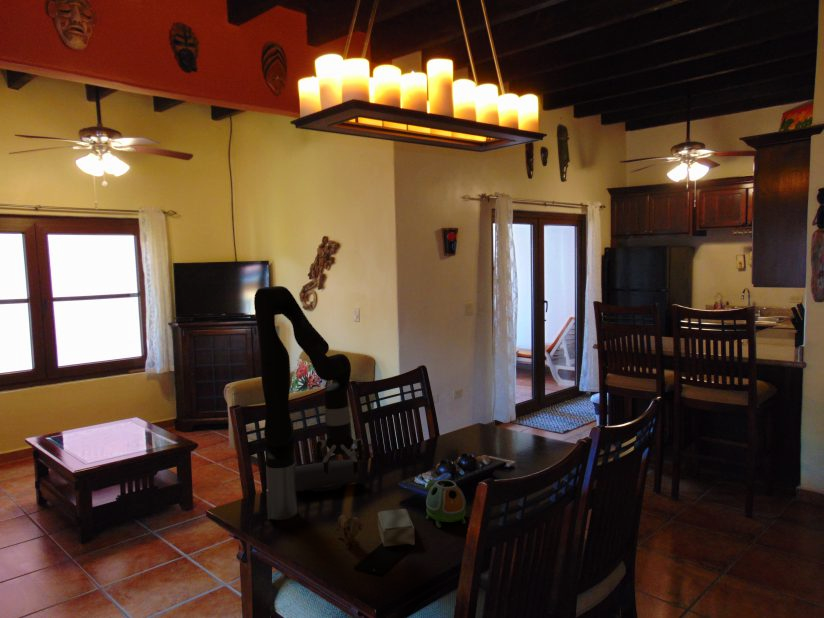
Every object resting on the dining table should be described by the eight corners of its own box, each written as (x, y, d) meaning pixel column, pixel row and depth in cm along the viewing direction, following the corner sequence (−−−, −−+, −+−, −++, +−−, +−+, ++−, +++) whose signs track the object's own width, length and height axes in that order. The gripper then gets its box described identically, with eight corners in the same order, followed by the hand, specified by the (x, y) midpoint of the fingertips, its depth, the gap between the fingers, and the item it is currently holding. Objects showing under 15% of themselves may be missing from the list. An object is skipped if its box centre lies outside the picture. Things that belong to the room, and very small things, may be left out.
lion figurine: (367, 548, 168) (366, 517, 168) (350, 553, 165) (349, 522, 165) (343, 529, 180) (342, 501, 180) (328, 534, 177) (326, 505, 177)
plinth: (383, 548, 168) (383, 529, 167) (378, 528, 180) (377, 510, 180) (414, 544, 169) (414, 526, 169) (406, 525, 182) (406, 507, 182)
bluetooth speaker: (353, 480, 221) (353, 454, 221) (359, 489, 213) (358, 462, 212) (293, 488, 215) (292, 462, 214) (296, 498, 206) (295, 470, 205)
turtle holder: (446, 503, 198) (445, 468, 197) (473, 524, 182) (473, 486, 181) (413, 510, 193) (412, 475, 192) (438, 532, 177) (437, 494, 176)
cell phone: (413, 547, 168) (413, 544, 168) (381, 578, 152) (381, 574, 152) (386, 541, 172) (386, 538, 172) (353, 570, 157) (353, 567, 156)
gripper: (311, 425, 172) (315, 478, 174) (358, 423, 171) (362, 477, 172) (318, 418, 180) (322, 469, 181) (363, 416, 178) (367, 468, 180)
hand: (342, 473), depth 177 cm, fingers open, 8 cm apart
